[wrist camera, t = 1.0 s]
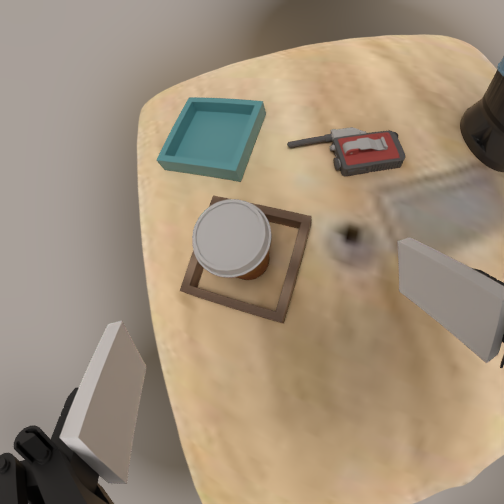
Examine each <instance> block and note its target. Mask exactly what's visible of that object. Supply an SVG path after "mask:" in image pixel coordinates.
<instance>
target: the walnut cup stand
mask: <svg viewBox="0 0 504 504" xmlns="http://www.w3.org/2000/svg"><path fill="white" fill-rule="evenodd" d="M223 200H229V199H228V198H223V197H217V196H213V198H212V200H211V203H210V206H211V205H213V204H215V203H217V202H219V201H223ZM251 204H253V203H251ZM253 205H255V206H256V207H258V208H259V209H260V210H261V211H262V212H263V213H264V214H265V216H266V218H267V219H268V222H273V223H277V224H282V225H286V226H290V227H294V228H299V232H298V236H297V239H296V243H295V247H294V250H293V254H292V257H291V261H290V264H289V268H288V271H287V275H286V278H285V282H284V285H283V289H282V292H281V295H280V299H279V302H278V306H277V309H276V312H275V311H272V310H268V309H265V308H261V307H258V306H254V305H251V304H248V303H244V302H241V301H238V300H234V299H231V298H228V297H225V296H221V295H218V294H215V293H212V292H209V291H205V290H202V289H199V288H197V286H198V283H199V280H200V277H201V274H202V271H203V267H202V265H201V264H200V263H199V262H198V260H197V258H196V256H195V254H194V250H193V253H192V256H191V259H190V262H189V265H188V268H187V271H186V274H185V277H184V280H183V283H182V286H181V289H180V291H182V292H185V293H187V294H190V295H193V296H196V297H199V298H202V299H205V300H209V301H212V302H215V303H218V304H221V305H224V306H227V307H230V308H234V309H237V310H240V311H243V312H247V313H250V314H253V315H257V316H260V317H263V318H267V319H270V320H274V321H277V322H281V323H284V320H285V317H286V314H287V310H288V307H289V303H290V300H291V297H292V293H293V290H294V286H295V283H296V279H297V276H298V272H299V268H300V265H301V261H302V257H303V254H304V250H305V246H306V242H307V239H308V235H309V231H310V227H311V216H307V215H303V214H299V213H294V212H290V211H285V210H281V209H276V208H272V207H267V206H262V205H257V204H253ZM210 206H209V207H210Z"/></svg>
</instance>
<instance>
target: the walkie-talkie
mask: <svg viewBox="0 0 504 504" xmlns="http://www.w3.org/2000/svg"><path fill="white" fill-rule="evenodd" d="M324 141H326V142H330V141H333V145H332V146H330V150H331V151H332V150H333V151H334V153H335V156H336V158H334V166H335V169H336V170H339V169H340V171H341V174H342V176H351V175H357V174H363V173H369V172H372V171H374V172H375V171H379V170H380V171H381V170H387V169H388V170H389V169H392V168H394V169H395V168H400V167H401V165H402V163H403V161H404V159H405V153H404V151H403V149H402V146H401V144H400V142H399V140H398V134H397V133H396V132H392V131H383V132H382V131H381V132H374V133H373V132H372V133H366V131H365V132H364V131H361V130H358V129H356V128H353V127H351V128H344V129H337V130H336V129H332V130H331V134H327V135H324V136H319V137H314V138H308V139H302V140H297V141H292V142H288V144H287V145H288V147H289V148H292V147H297V146H302V145H307V144H313V143H319V142H324Z"/></svg>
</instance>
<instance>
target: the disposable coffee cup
mask: <svg viewBox="0 0 504 504" xmlns="http://www.w3.org/2000/svg"><path fill="white" fill-rule="evenodd" d="M192 238H193V250H194V254H195V256H196V258H197V260H198V262H199V263H200V264H201V265H202V267H203V268H204V269H206V270H207V271H209V272H210V273H212V274H214V275H217V276H221V277H237V278H240V279H244V280H252V279H256V278H257V277H259V276H261V275H262V274H263V273H264V272H265V271H266V269H267V267H268V264H269V247H270V243H271V228H270V225H269V222H268V219H267V218H266V216H265V214H264V213H263V212H262V211H261V210H260V209H259V208H258V207H256V206H255V205H253V204H251V203H249V202H246V201H241V200H236V199H229V200H223V201H219V202H217V203H215V204H213V205H211V206H210V207H208V208H207V209H206V210H205V211H204V212H203V213H202V214H201V215H200V217H199V218H198V220H197V222H196V224H195V227H194V230H193V237H192Z"/></svg>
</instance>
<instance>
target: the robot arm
mask: <svg viewBox="0 0 504 504" xmlns="http://www.w3.org/2000/svg"><path fill="white" fill-rule="evenodd" d="M461 132H462V135H463V137H464V140H465V142H466V143H467V145H468V147H469V148H470V149H471V151H472V152H473V153H474V154H475V155H476V157H477V158H478V159H480V160H481V161H482V162H483V163H484V164H486V165H487V166H489V167H490V168H492V169H494V170H497V171H501V172H504V57H503V59H502V61H501V62H500V63H499V64H498V69H497V71H496V73H495V75H494V77H493V79H492V81H491V83H490V85H489V87H488V89H487V91H486V93H485V95H484V96H483V98H482V99H481V100H480V101H478V102H477V103H475V104H474V105H473V106H472V107H470V108H468V109H467V110H466V112H465V113H464V115H463V117H462V119H461ZM398 258H399V291H400V292H401V293H402V294H403V295H405V296H406V297H407V298H409V299H410V300H411V301H412V302H414V303H415V304H416V305H417V306H419V307H420V308H421V309H422V310H424V311H425V312H426V313H427V314H429V315H430V316H431V317H432V318H434V319H435V320H436V321H437V322H439V323H440V324H441V325H442V326H443V327H445V328H446V329H447V330H448V331H449V332H451V333H452V334H453V335H454V336H455V337H457V338H458V339H459V340H460V341H461V342H462V343H464V344H465V345H466V346H467V347H468V348H469V349H471V350H472V351H473V352H474V353H475V354H476V355H478V356H479V357H480V358H481V359H482V360H483V361H484V362H485V363H487V362H489V361H490V360H491V359H493V358H494V357H495V356H496V355H498V353H499V350H500V347H501V343H502V342H504V283H503V282H501V281H499V280H497V279H496V278H494V277H492V276H491V277H490V275H489V274H487V273H485V272H483V271H481V270H477V269H473V268H470V267H468V266H466V265H465V264H463V263H461V262H459V261H457V260H455V259H453V258H451V257H449V256H447V255H445V254H443V253H441V252H439V251H437V250H435V249H433V248H431V247H429V246H427V245H425V244H423V243H421V242H419V241H417V240H415V239H413V238H410V237H409V238H406V239H403V240H400V241H398ZM503 365H504V356H503V359H502V361H501V365H500V368H503ZM145 372H146V365H145V363H144V361H143V360H142V358H141V356H140V354H139V352H138V350H137V348H136V347H135V345H134V343H133V341H132V339H131V337H130V335H129V333H128V331H127V329H126V327H125V325H124V323H123V321H119V322H114V323H110V324H108V326H107V328H106V330H105V331H104V334H103V336H102V338H101V340H100V342H99V344H98V346H97V348H96V350H95V352H94V355H93V357H92V359H91V361H90V364H89V366H88V368H87V370H86V372H85V375H84V377H83V379H82V381H81V384H80V386H79V388H75V389H74V390H73V391H72V393H71V394H70V395H69V396H68V398H67V400H66V402H65V405H64V408H63V410H62V412H61V416H60V417H59V419H58V422H57V425H56V427H55V430H54V432H53V435H52V437H51V439H50V438H49V437H48V436H47V435H46V434H45V433H44V432H43V431H42V430H41V429H40V428H39V427H37V426H29V427H26V428H24V429H23V430H22V431H21V432H20V433H19V434H18V435H17V437H16V439H15V442H14V449H15V450H16V451H17V452H18V453H19V454H20V455H21V456H22V457H23V458H24V459H25V460H23V461H19V460H18V459H17V458H16V457H14V456H13V455H12V454H10V453H4V454H2V455H0V504H114V503H113V502H112V500H111V499H110V497H109V496H108V495H107V493H106V492H105V490H104V489H103V487H102V486H100V485H99V484H98V478H99V476H100V477H102V478H103V479H104V480H105V481H106V482H108V483H117V484H118V483H119V484H127V478H128V471H129V463H130V456H131V449H132V442H133V436H134V430H135V424H136V419H137V413H138V407H139V402H140V397H141V391H142V387H143V382H144V377H145Z"/></svg>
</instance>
